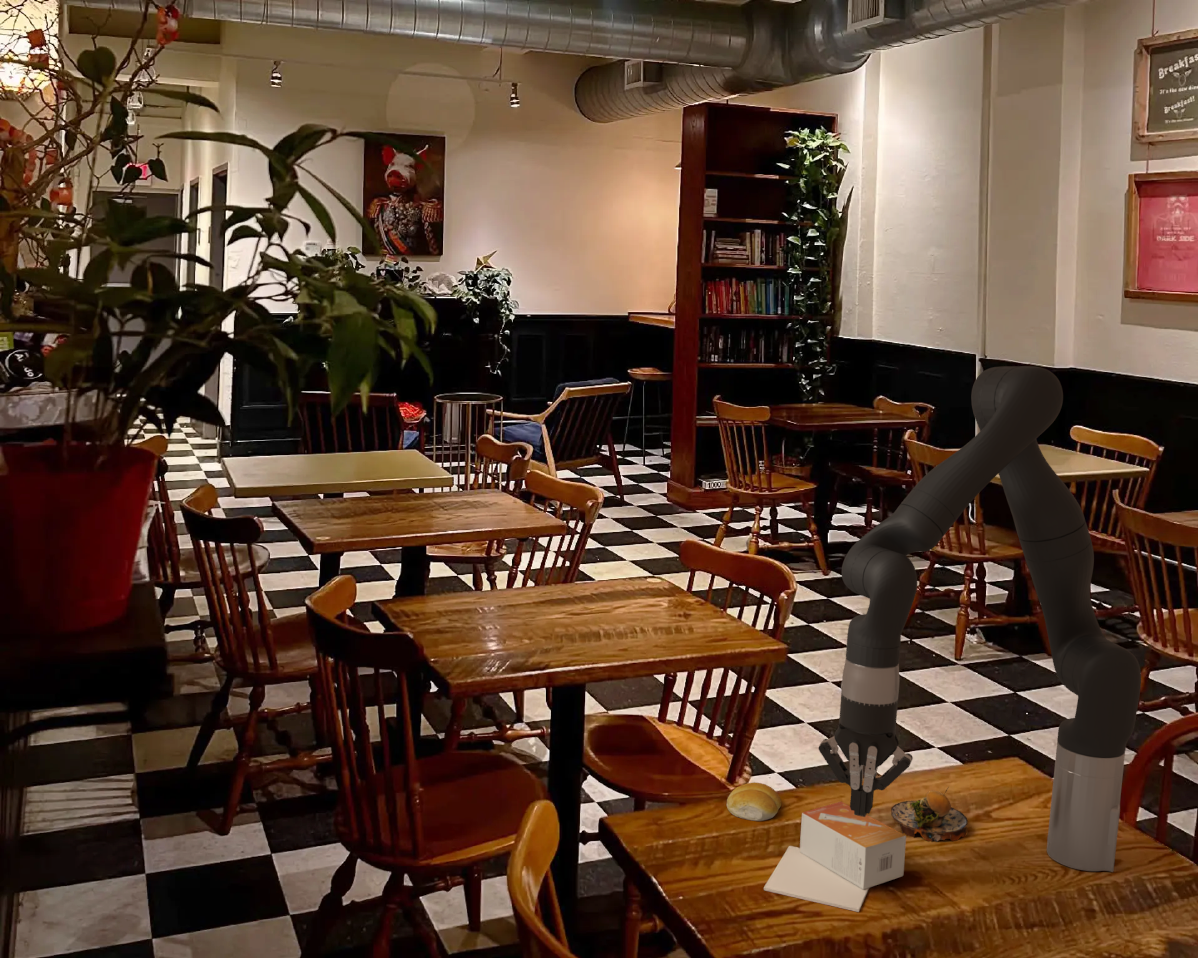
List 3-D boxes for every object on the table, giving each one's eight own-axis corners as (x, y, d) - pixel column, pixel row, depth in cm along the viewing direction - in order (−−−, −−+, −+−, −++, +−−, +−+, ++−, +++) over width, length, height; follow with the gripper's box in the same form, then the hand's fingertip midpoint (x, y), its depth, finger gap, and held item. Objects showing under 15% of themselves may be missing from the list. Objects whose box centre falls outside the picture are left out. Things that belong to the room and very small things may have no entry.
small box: (866, 847, 162) (800, 811, 173) (863, 890, 163) (798, 852, 174) (907, 834, 167) (841, 800, 177) (904, 876, 168) (838, 840, 178)
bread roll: (783, 803, 192) (785, 779, 192) (773, 825, 184) (774, 801, 183) (733, 794, 195) (734, 771, 194) (720, 816, 187) (722, 792, 186)
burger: (927, 804, 194) (931, 761, 193) (984, 834, 184) (988, 788, 183) (872, 818, 188) (876, 774, 187) (928, 849, 178) (932, 802, 177)
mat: (877, 867, 171) (878, 864, 171) (858, 911, 158) (858, 909, 158) (789, 848, 176) (789, 845, 176) (763, 889, 163) (763, 887, 163)
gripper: (923, 692, 162) (913, 813, 164) (827, 677, 167) (818, 794, 169) (915, 709, 155) (905, 834, 158) (815, 692, 160) (806, 814, 163)
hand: (860, 813), depth 164 cm, fingers closed
